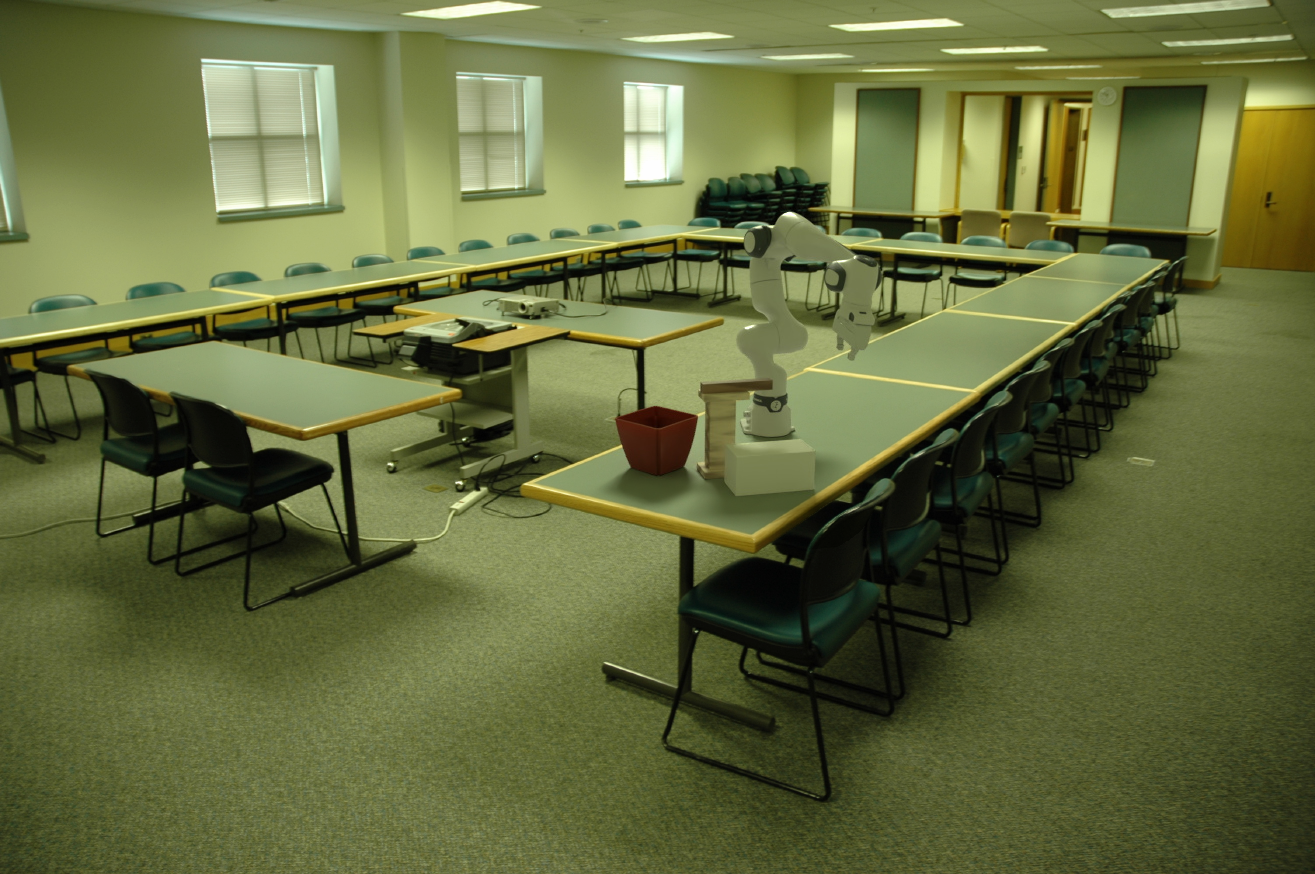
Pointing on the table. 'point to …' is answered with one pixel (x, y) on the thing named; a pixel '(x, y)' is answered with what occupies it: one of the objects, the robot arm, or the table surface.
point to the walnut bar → (736, 385)
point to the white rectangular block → (769, 467)
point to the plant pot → (657, 438)
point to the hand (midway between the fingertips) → (844, 354)
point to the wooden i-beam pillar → (718, 430)
